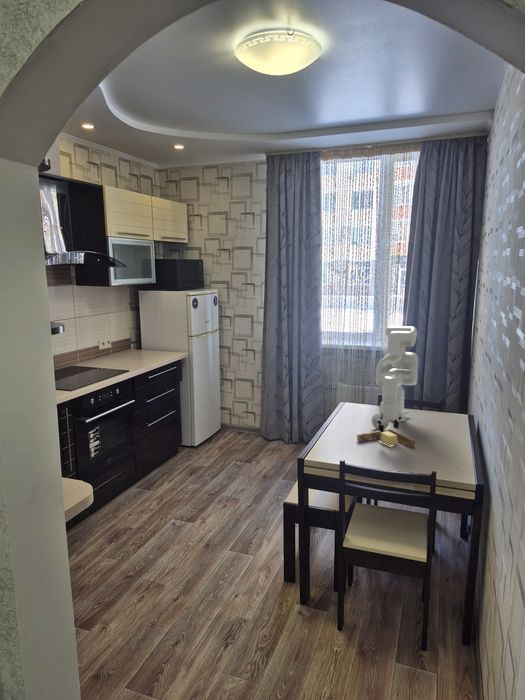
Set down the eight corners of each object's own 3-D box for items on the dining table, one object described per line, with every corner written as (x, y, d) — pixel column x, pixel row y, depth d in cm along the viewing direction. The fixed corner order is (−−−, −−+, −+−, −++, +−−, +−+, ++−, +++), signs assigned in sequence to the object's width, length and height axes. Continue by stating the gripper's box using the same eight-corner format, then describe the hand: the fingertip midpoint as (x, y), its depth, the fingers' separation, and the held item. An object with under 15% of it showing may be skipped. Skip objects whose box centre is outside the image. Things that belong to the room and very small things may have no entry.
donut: (370, 429, 268) (371, 412, 267) (372, 427, 271) (372, 411, 270) (388, 431, 264) (388, 415, 262) (389, 429, 267) (390, 413, 265)
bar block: (396, 444, 244) (397, 435, 243) (389, 445, 242) (389, 436, 241) (386, 439, 251) (387, 430, 251) (379, 440, 249) (379, 431, 249)
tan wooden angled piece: (389, 435, 258) (390, 428, 258) (414, 447, 240) (415, 440, 240) (357, 441, 250) (357, 434, 249) (380, 454, 231) (380, 447, 231)
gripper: (398, 395, 250) (396, 425, 253) (371, 399, 243) (370, 430, 246) (407, 398, 243) (406, 429, 246) (380, 403, 236) (379, 435, 239)
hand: (388, 430), depth 246 cm, fingers open, 9 cm apart
